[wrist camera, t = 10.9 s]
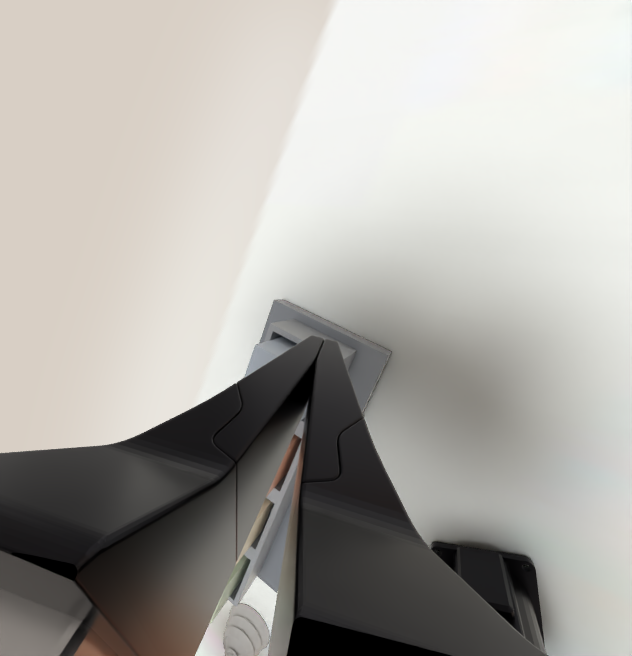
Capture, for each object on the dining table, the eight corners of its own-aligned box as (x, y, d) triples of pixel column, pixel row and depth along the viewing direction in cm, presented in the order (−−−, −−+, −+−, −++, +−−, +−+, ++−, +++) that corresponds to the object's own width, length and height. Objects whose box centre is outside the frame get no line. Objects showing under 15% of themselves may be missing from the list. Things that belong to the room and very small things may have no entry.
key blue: (321, 401, 23) (287, 432, 18) (279, 377, 24) (236, 399, 19) (341, 356, 22) (310, 375, 17) (296, 333, 23) (255, 344, 18)
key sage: (252, 563, 28) (210, 623, 23) (220, 536, 29) (173, 587, 24) (266, 532, 27) (225, 588, 22) (232, 505, 28) (185, 552, 23)
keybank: (284, 578, 29) (254, 631, 24) (208, 514, 32) (169, 551, 28) (391, 351, 22) (378, 367, 18) (283, 299, 26) (248, 301, 21)
